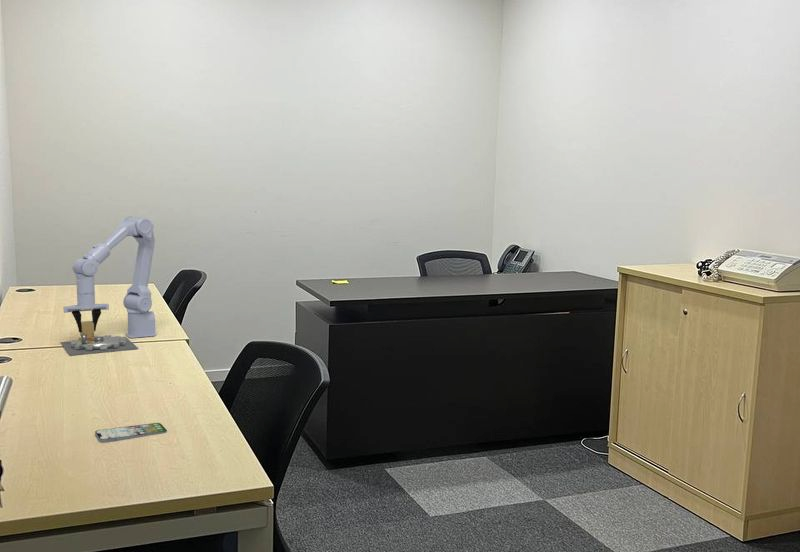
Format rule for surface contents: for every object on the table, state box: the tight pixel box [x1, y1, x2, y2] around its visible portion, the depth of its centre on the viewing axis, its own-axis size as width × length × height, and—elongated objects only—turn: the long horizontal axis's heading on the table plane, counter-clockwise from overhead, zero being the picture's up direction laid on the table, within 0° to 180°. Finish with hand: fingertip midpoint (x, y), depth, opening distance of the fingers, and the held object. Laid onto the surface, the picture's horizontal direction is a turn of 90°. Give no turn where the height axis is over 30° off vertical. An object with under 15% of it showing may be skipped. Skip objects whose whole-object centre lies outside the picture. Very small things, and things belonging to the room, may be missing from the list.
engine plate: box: [60, 336, 139, 357], centre depth 267 cm, size 22×21×1 cm
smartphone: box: [94, 422, 168, 444], centre depth 179 cm, size 7×1×15 cm
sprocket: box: [70, 334, 127, 350], centre depth 266 cm, size 18×18×4 cm
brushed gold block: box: [79, 320, 95, 337], centre depth 268 cm, size 4×4×5 cm
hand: (87, 331), depth 268 cm, fingers closed on brushed gold block, 4 cm apart
